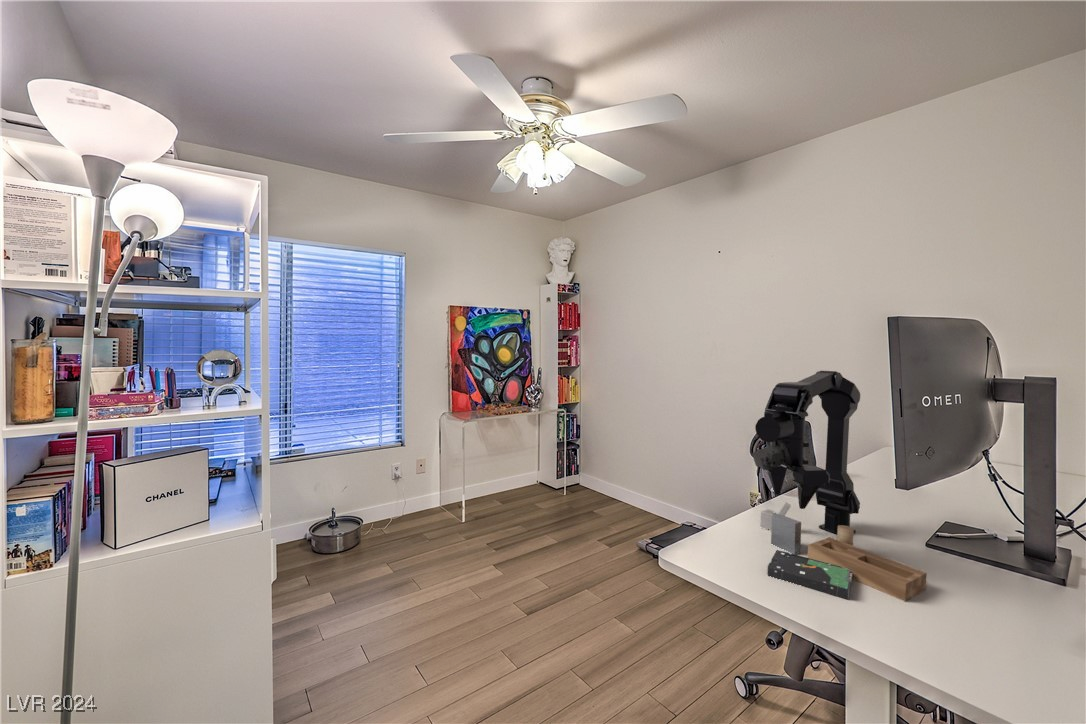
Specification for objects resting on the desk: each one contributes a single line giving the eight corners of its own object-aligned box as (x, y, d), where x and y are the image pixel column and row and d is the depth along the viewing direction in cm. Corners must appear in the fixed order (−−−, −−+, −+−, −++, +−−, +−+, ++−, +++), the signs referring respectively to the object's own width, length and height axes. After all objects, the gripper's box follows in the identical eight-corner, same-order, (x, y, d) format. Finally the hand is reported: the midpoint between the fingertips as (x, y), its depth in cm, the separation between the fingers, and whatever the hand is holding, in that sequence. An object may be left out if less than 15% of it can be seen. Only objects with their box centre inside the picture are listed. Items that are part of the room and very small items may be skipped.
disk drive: (766, 579, 95) (850, 603, 86) (767, 566, 95) (850, 589, 86) (775, 560, 104) (852, 580, 95) (775, 549, 104) (852, 568, 95)
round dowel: (841, 548, 109) (842, 524, 109) (855, 553, 106) (856, 529, 106) (834, 550, 108) (834, 526, 107) (848, 556, 105) (849, 531, 105)
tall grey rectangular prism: (776, 542, 112) (777, 513, 112) (800, 552, 107) (801, 522, 106) (771, 544, 111) (771, 515, 110) (794, 554, 106) (795, 523, 105)
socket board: (829, 551, 107) (829, 537, 107) (925, 589, 91) (926, 572, 91) (807, 559, 103) (808, 544, 103) (905, 601, 86) (905, 583, 86)
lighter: (760, 528, 121) (761, 499, 120) (760, 525, 122) (761, 497, 122) (789, 534, 117) (790, 504, 117) (790, 532, 118) (791, 502, 118)
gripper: (737, 429, 113) (736, 489, 113) (783, 446, 94) (782, 518, 95) (778, 428, 114) (776, 487, 114) (832, 445, 95) (830, 516, 96)
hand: (789, 501), depth 105 cm, fingers open, 9 cm apart
